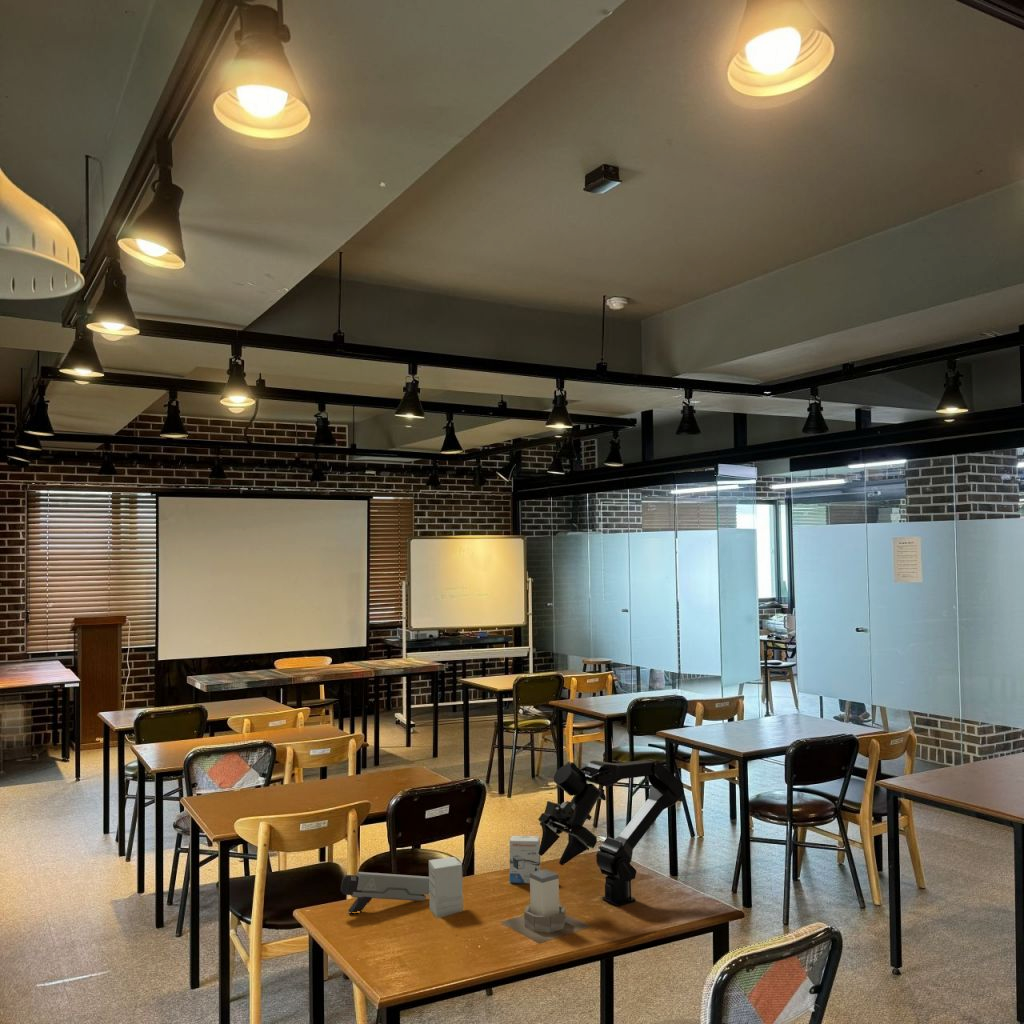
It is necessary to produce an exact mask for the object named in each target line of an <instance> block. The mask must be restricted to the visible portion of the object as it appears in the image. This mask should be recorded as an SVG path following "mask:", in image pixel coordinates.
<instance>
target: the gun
mask: <svg viewBox="0 0 1024 1024" xmlns="http://www.w3.org/2000/svg"><path fill="white" fill-rule="evenodd" d="M340 892H341V893H342V894H343V895H346V896H351V897H352V898H356V899H355V901H354V902H353V903H351V904H352V905H351V906H350V907H349V909H348V910H347V912H348V911H349V912H351V913H352V912H357V911H361V910H362V911H363V909H364V908H365V907H366V906H367V905H368V904H369V903H370V902H371V901H372V900H373V899H378V900H379V899H381V900H398V901H414V902H425V901H426V898H427V896H426V895H428V896H429V876H424V875H423V876H422V875H409V874H395V873H393V874H392V873H380V872H365V871H357V872H356V875H354V874H346V875H344V876H343V878H342V880H341V884H340ZM362 911H361V912H362ZM349 912H348V913H349Z"/></svg>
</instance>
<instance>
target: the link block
mask: <svg viewBox="0 0 1024 1024" xmlns="http://www.w3.org/2000/svg"><path fill="white" fill-rule="evenodd" d="M559 881H560V880H559V873H557V872H554V871H552V870H550V869H546V868H544V869H540V871H537V872H533V873H530V883H529V891H530V892H529V893H530V894H529V897H530V900H529V902H530V904H529V905H530V907H531V913H532V914H534V915H537V916H551V915H555V914H558V913H559V905H560V889H559V885H560V883H559Z"/></svg>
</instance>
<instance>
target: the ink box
mask: <svg viewBox="0 0 1024 1024" xmlns="http://www.w3.org/2000/svg"><path fill="white" fill-rule="evenodd" d="M540 844H541V838H540V836H538V835H512V836H510V837H509V883H510V884H530V873H533V872H537V871H540V870H541V855H539V849H540Z"/></svg>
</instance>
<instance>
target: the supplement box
mask: <svg viewBox="0 0 1024 1024" xmlns="http://www.w3.org/2000/svg"><path fill="white" fill-rule="evenodd" d="M428 877H429V895H428V897H429V900H428V901H429V910H430V911H431V913H432V912H433V913H432V914H433V916H434V915H435V916H434V918H435V919H436V918H437V919H440V918H441V919H442V918H444V917H447V916H451V915H454V914H455V915H456V914H458V913H461V912H463V911H464V898H463V897H464V895H463V893H464V892H463V891H464V890H463V887H464V886H463V864H462V863H461V862H460V861H459V860H458V859H457V858H456V856H452V857H451V856H450V857H444V858H443V857H442V858H436V859H429V860H428Z"/></svg>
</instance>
